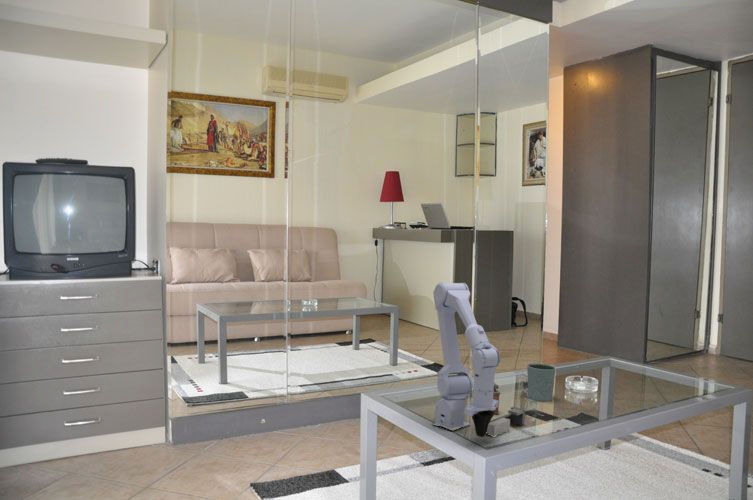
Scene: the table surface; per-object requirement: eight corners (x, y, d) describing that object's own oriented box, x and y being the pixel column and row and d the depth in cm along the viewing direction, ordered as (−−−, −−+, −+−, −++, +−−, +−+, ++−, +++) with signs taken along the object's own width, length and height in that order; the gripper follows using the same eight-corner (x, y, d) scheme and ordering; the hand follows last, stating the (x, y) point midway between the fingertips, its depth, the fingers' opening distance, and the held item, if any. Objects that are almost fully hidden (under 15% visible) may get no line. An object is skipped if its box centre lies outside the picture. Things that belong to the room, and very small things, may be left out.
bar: (493, 437, 179) (494, 425, 179) (486, 435, 180) (487, 423, 180) (509, 430, 185) (510, 419, 185) (502, 428, 187) (503, 417, 187)
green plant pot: (554, 403, 218) (556, 370, 217) (525, 400, 220) (527, 367, 219) (552, 396, 228) (554, 364, 227) (524, 393, 230) (526, 361, 229)
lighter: (479, 408, 208) (481, 379, 207) (488, 407, 209) (490, 378, 208) (492, 415, 200) (494, 385, 200) (501, 414, 201) (503, 385, 201)
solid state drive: (545, 422, 197) (546, 420, 197) (521, 413, 205) (521, 411, 205) (558, 419, 201) (558, 417, 201) (533, 410, 209) (534, 408, 209)
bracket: (493, 437, 178) (494, 421, 178) (481, 434, 181) (482, 418, 181) (524, 424, 192) (525, 409, 192) (512, 421, 195) (513, 406, 195)
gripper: (481, 397, 167) (478, 445, 167) (508, 388, 178) (505, 434, 178) (460, 391, 172) (457, 438, 172) (487, 383, 182) (485, 427, 183)
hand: (480, 435), depth 175 cm, fingers closed
